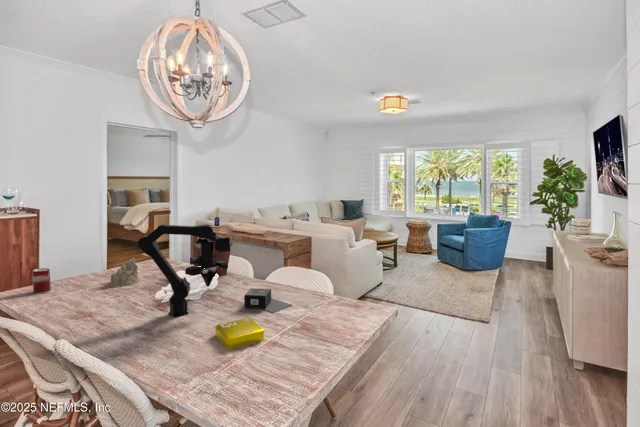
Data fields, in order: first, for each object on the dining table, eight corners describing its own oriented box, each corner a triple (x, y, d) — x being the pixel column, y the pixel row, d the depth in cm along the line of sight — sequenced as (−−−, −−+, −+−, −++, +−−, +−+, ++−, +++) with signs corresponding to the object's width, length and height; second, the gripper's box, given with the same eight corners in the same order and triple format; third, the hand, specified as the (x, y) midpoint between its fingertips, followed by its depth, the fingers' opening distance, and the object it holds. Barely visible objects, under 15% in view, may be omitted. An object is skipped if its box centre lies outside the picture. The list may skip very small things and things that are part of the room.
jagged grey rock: (135, 276, 216) (132, 253, 214) (143, 283, 204) (141, 258, 202) (106, 283, 206) (103, 258, 203) (113, 290, 194) (110, 264, 191)
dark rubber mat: (272, 313, 161) (272, 312, 161) (249, 304, 171) (249, 304, 171) (292, 305, 171) (292, 304, 171) (269, 298, 181) (269, 297, 181)
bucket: (238, 271, 231) (238, 234, 228) (220, 281, 210) (219, 239, 207) (206, 268, 237) (205, 232, 235) (185, 277, 216) (184, 237, 214)
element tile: (227, 351, 126) (227, 338, 125) (214, 335, 138) (213, 323, 137) (265, 340, 134) (265, 328, 134) (249, 327, 146) (249, 315, 146)
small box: (266, 309, 165) (271, 301, 175) (265, 296, 164) (271, 288, 174) (244, 308, 166) (251, 300, 176) (243, 294, 165) (250, 287, 175)
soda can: (35, 290, 188) (34, 268, 186) (52, 289, 191) (51, 267, 190) (31, 294, 181) (29, 272, 180) (48, 293, 184) (47, 270, 183)
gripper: (214, 247, 171) (215, 278, 172) (178, 253, 156) (179, 287, 158) (228, 250, 164) (229, 283, 165) (191, 256, 149) (192, 292, 151)
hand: (207, 286), depth 160 cm, fingers closed
